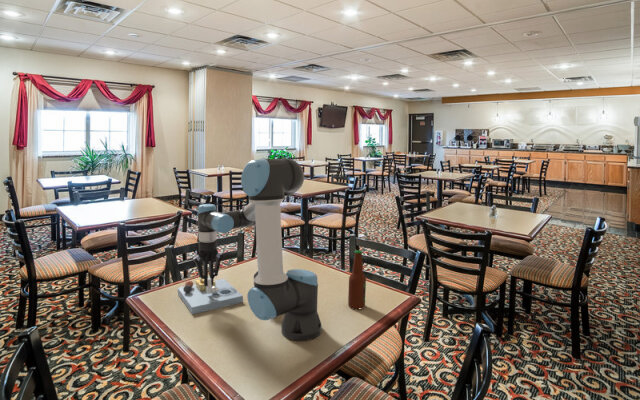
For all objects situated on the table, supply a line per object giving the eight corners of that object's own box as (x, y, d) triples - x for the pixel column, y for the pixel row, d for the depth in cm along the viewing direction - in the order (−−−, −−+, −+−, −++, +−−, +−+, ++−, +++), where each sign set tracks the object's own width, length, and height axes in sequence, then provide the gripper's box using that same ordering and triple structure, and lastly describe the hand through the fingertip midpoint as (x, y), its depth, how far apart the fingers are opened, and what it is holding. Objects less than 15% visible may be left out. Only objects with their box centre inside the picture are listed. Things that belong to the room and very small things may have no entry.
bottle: (368, 308, 160) (370, 252, 156) (354, 311, 156) (356, 254, 152) (358, 301, 166) (360, 247, 162) (344, 305, 162) (346, 250, 158)
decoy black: (192, 293, 165) (192, 285, 164) (184, 294, 163) (184, 287, 162) (190, 290, 168) (190, 283, 167) (182, 292, 166) (182, 284, 165)
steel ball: (216, 286, 162) (210, 292, 161) (221, 291, 164) (214, 297, 162) (214, 283, 165) (207, 289, 164) (218, 288, 167) (212, 294, 165)
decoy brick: (194, 288, 170) (194, 281, 169) (186, 290, 168) (186, 282, 167) (192, 285, 173) (191, 278, 172) (184, 287, 171) (184, 280, 170)
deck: (243, 302, 163) (242, 295, 163) (192, 314, 151) (191, 307, 151) (224, 284, 183) (224, 278, 182) (177, 294, 171) (177, 287, 170)
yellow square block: (215, 288, 170) (215, 280, 170) (200, 291, 166) (199, 283, 166) (210, 283, 176) (210, 276, 175) (195, 286, 172) (195, 278, 172)
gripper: (219, 236, 165) (220, 286, 169) (189, 240, 158) (191, 292, 162) (225, 240, 159) (226, 292, 163) (194, 244, 152) (196, 298, 156)
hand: (208, 292), depth 162 cm, fingers closed
